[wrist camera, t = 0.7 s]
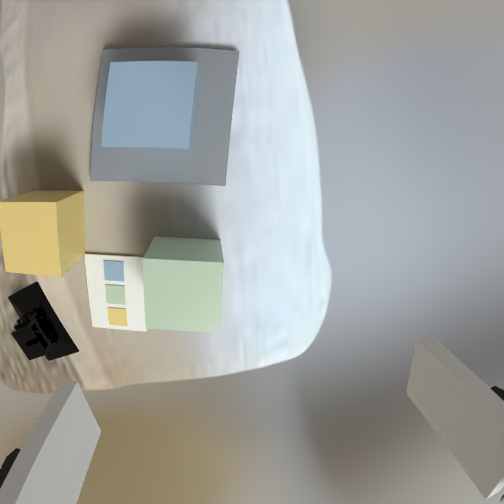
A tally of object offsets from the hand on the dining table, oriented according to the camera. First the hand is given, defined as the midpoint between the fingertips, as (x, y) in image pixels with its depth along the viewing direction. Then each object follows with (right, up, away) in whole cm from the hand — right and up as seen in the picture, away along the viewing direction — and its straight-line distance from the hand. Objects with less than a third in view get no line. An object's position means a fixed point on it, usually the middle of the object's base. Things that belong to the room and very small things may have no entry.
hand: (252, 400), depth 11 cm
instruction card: (-13, +1, +19) cm, 23 cm away
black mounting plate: (-23, -3, +19) cm, 30 cm away
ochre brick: (-19, +8, +16) cm, 26 cm away
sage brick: (-6, +4, +19) cm, 20 cm away
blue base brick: (-8, +17, +13) cm, 23 cm away
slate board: (-8, +17, +14) cm, 23 cm away
